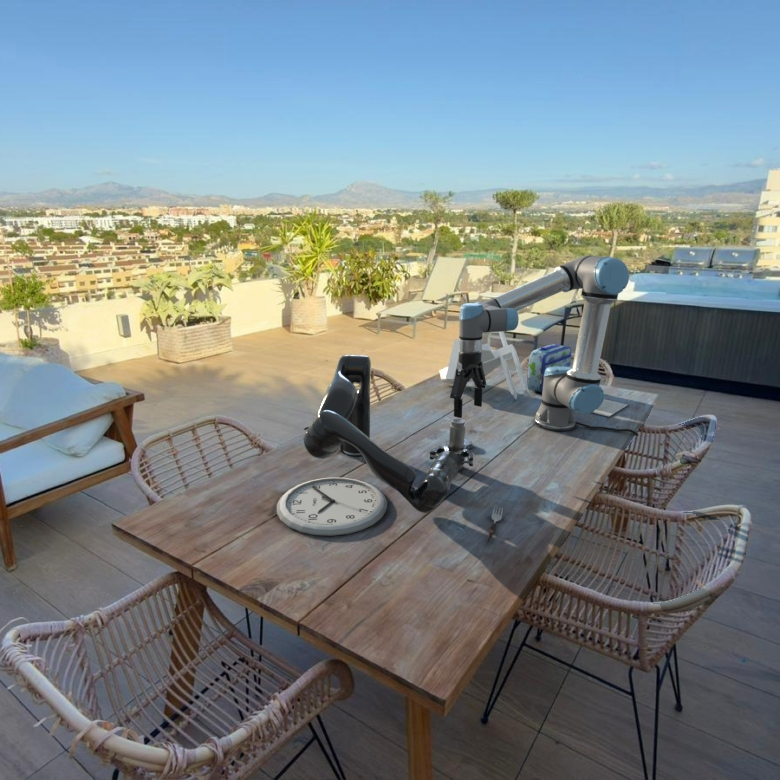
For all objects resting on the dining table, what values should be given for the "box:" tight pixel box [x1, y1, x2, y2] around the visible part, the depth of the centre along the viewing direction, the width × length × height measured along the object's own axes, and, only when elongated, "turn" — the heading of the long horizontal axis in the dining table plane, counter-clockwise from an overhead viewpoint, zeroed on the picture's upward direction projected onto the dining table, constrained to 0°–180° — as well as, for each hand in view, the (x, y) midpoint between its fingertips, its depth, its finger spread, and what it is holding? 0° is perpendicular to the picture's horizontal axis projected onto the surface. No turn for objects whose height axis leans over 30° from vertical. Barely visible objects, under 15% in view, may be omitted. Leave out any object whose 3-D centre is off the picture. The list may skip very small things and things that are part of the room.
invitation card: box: [591, 398, 629, 418], centre depth 226 cm, size 21×1×15 cm
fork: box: [487, 505, 504, 543], centre depth 133 cm, size 3×16×2 cm, turn 160°
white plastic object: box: [438, 331, 531, 400], centre depth 245 cm, size 37×45×31 cm
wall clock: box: [276, 476, 388, 537], centre depth 142 cm, size 30×2×30 cm
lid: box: [464, 438, 473, 450], centre depth 183 cm, size 6×6×2 cm
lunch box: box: [526, 343, 572, 394], centre depth 247 cm, size 26×11×21 cm, turn 134°
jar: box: [448, 418, 466, 471], centre depth 164 cm, size 5×5×16 cm
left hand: (458, 446), depth 167 cm, fingers closed on jar, 4 cm apart
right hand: (468, 411), depth 179 cm, fingers open, 13 cm apart
